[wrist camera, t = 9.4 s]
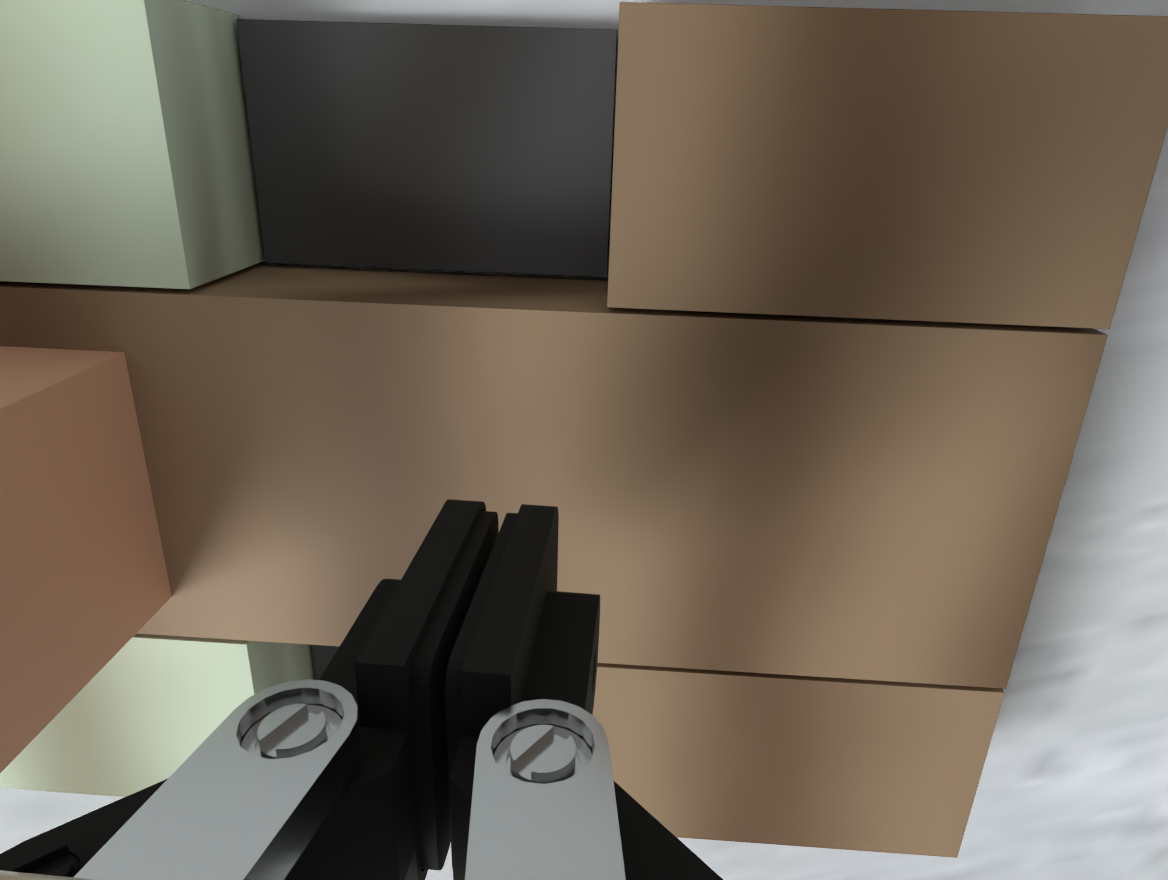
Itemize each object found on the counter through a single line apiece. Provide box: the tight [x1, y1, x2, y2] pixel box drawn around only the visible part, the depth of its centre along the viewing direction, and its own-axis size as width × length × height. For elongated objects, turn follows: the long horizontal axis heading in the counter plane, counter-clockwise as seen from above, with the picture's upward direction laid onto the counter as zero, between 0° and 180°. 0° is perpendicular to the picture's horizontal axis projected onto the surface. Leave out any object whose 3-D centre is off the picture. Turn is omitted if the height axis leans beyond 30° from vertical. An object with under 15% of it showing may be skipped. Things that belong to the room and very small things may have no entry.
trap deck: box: [0, 0, 1168, 858], centre depth 15 cm, size 24×16×5 cm, turn 88°
